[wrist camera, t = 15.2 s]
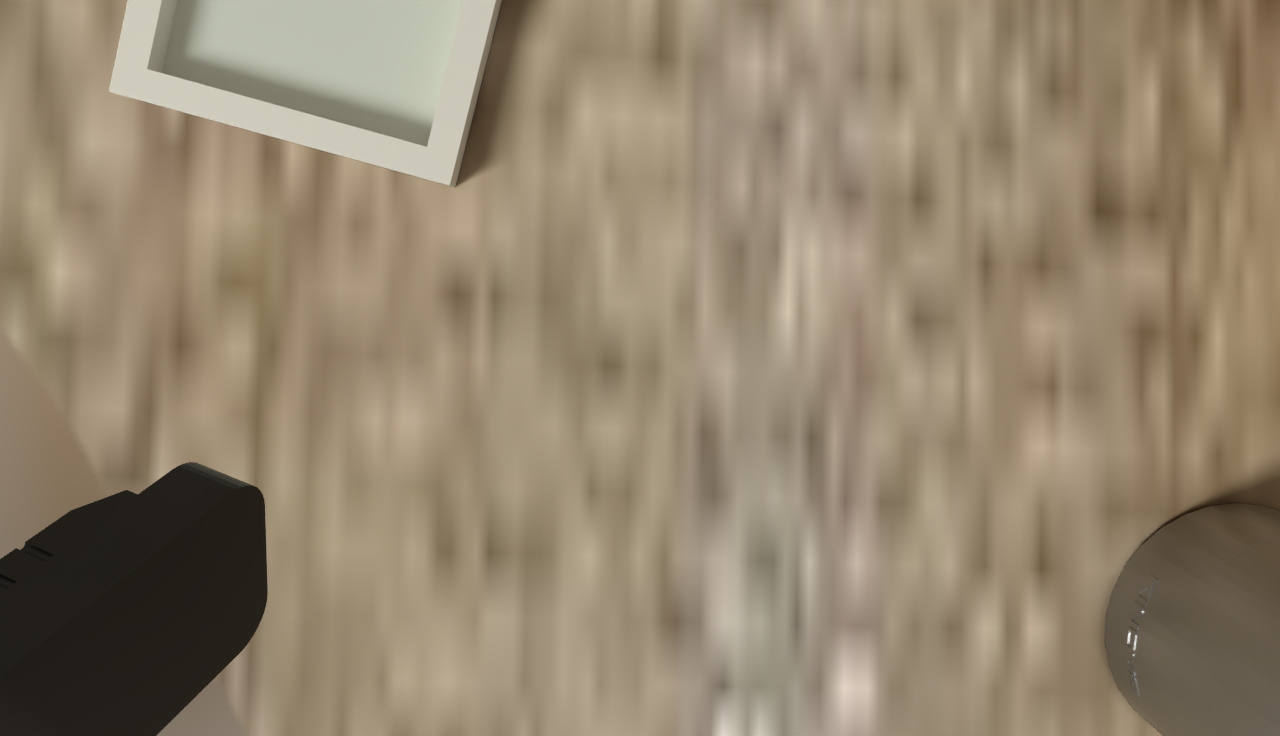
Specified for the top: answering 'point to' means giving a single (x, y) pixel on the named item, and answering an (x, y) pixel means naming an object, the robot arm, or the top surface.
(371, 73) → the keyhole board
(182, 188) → the top surface
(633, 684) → the top surface
